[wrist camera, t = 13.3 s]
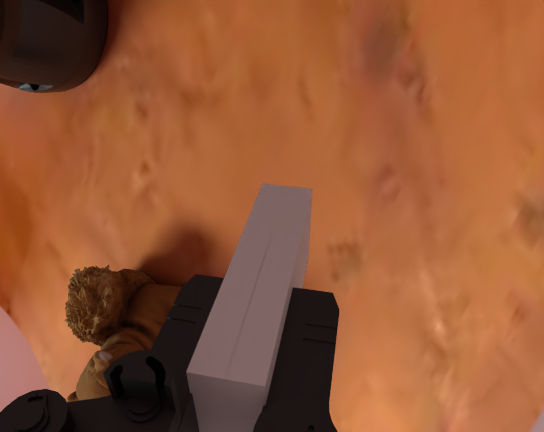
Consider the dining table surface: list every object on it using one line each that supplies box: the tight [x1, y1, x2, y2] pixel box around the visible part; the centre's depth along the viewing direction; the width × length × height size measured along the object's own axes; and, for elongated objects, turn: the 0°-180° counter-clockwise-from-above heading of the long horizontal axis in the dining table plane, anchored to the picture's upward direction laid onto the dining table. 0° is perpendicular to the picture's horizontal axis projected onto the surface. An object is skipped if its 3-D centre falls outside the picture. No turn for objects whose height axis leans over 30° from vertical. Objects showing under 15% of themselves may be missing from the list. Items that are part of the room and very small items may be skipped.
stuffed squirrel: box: [65, 265, 183, 402], centre depth 42 cm, size 10×14×13 cm
